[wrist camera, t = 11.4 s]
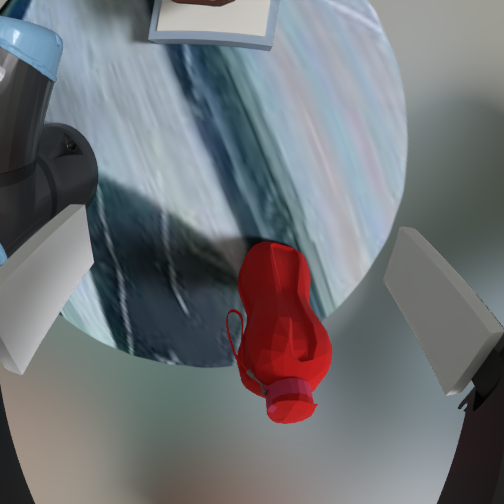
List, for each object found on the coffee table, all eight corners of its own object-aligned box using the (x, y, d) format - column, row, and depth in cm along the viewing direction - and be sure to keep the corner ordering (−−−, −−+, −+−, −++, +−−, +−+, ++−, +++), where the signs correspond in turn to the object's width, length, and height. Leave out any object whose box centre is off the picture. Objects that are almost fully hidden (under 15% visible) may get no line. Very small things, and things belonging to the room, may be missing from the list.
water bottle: (240, 228, 43) (237, 375, 21) (312, 249, 45) (361, 391, 23) (222, 281, 47) (209, 428, 25) (288, 297, 49) (313, 439, 27)
